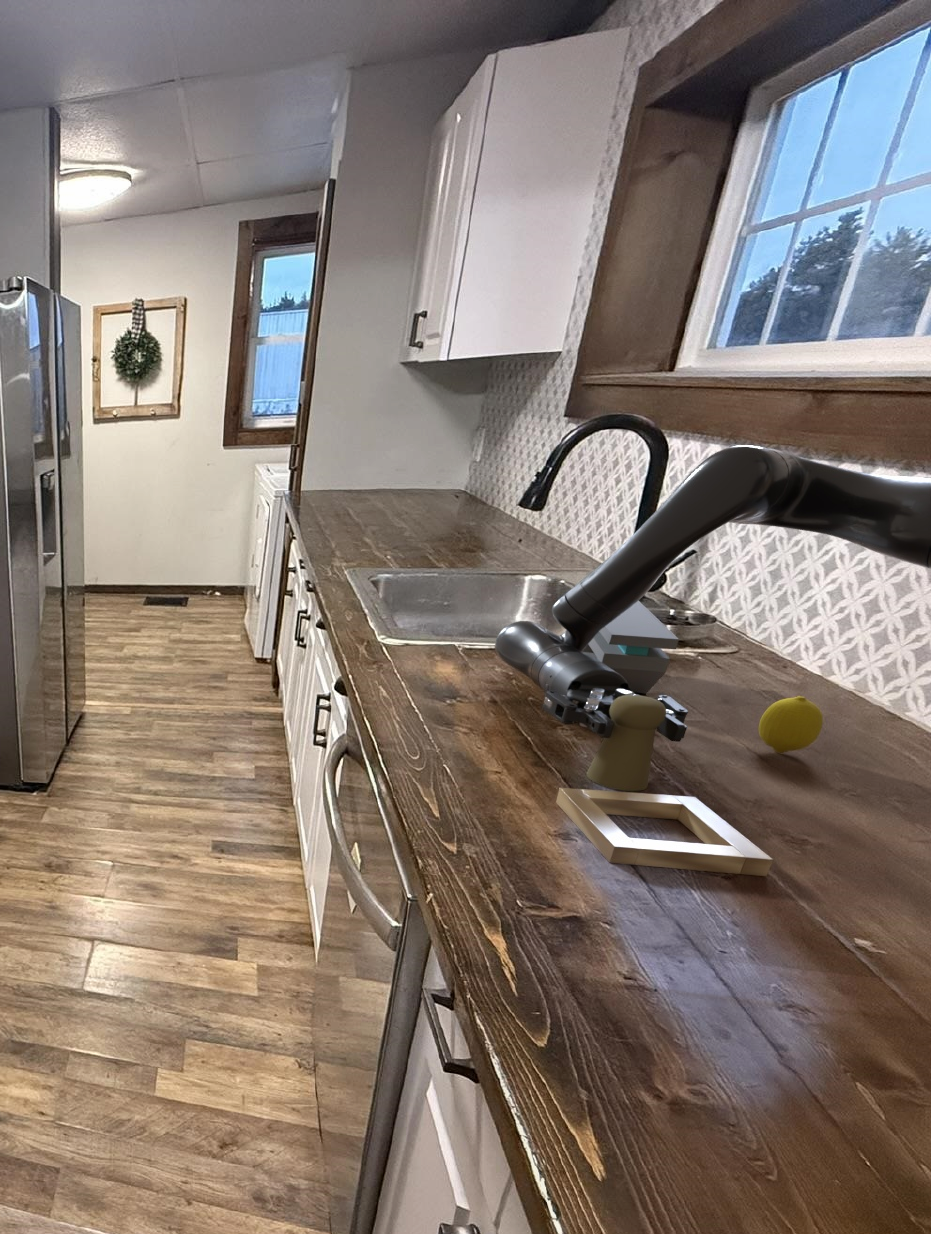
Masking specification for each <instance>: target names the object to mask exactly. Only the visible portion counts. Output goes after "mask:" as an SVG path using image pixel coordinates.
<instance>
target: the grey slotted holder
mask: <svg viewBox="0 0 931 1234" xmlns="http://www.w3.org/2000/svg"><path fill="white" fill-rule="evenodd" d="M679 641H680V638H679V637H678V636H676V635H675V634H674V633H673V632H672V631H671V630H670V629H669V628H668V627H667V626H666V625H665V624H664V623H663V622H662V621H660V619H659V618H657V616H655V614H653V612H651V611H650V610H649V609H648V608H647V607H646V606H645V605H644V604H643V603H642V602H641V601H640V600H638V601H637V602H636V603H635V604H634V605H633V606H631V607H630V608H629V609H628V610H626V611H625V612H624V613H622V614H621V615H620V616H618V617H617V618H616V619H614V620H613V621H612V622H610V623H609V624H608V625H607V626H605V627H604V628H602V629H601V630H600V631H599V632H598V633H597V634H596V635H595V637H594V638H593V639H592V640H591V641H590V642H589V644H588V645H587V646H586V647H585V648H584V650H583V651H582V652H583V653H584V654H586V655H589V656H591V657H594V658H596V659H597V660H599V661H600V662H602V663H603V664H605V665H607V666H608V667H610V668H611V669H613V670H614V671H616V672H617V673H619V674H620V675H622V676H623V677H624V678H625V680H626V681H627V683H628V685H629V687H630V690H631V692H633V693H634V694H645V695H646V694H647V693H648V692H649V691H650V690H652V688H653V687H654V686H655V685H656V684H657V683H658V682H659V681H660V680H661V679H662V678H663V676H664V675H666V674H667V670H668V666H669V664H670V661H671V658H670V657H669V655H667V653H666V652H665V651H664V650H663V649H665V650H677V647H678V645H679Z"/></svg>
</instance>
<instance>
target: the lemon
mask: <svg viewBox="0 0 931 1234" xmlns="http://www.w3.org/2000/svg"><path fill="white" fill-rule="evenodd" d="M823 720H824V718H823V713H822V710H821V709H820V707H818V705H817V704H815V703H814V702H813V701H810V700H808V699H807V698H806V697H805V696H801V695H797V696H795V697H787V698H783V699H780V700H779V699H778V700H777V701H775V702H773V703H772V704H771V705H769V707H767V708H766V710H765V711H764V712H763V714H762V716H761V718H760V720H759V723H758V724H759V725H758V735H759V737H760V739H761V740H762V741H763V743H765V744H766V745H767V746H769V747H771V748H772V749H773V750H774V752H775V753H777V754H785V753H786V752H787V753H788V752H792V751H799V750H801V749H804V748H807V747H809V746H810V745H812V744H813V743H814V742H815V741H816V740H817V738H818V737H819V736H820V733H821V731H822V728H823V722H824V721H823Z"/></svg>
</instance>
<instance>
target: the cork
mask: <svg viewBox="0 0 931 1234" xmlns="http://www.w3.org/2000/svg"><path fill="white" fill-rule="evenodd" d="M639 695H640V694H637V695H624V696H620V697H618V698H617V699H615V700H614V701H613V703H612V704H611V706H610V710H609V713H610V717H611V719H612V721H613V722H614V727H613V730H612V734H611V737H610V738H603V739H602V741H601V743H600V745H599V747H598V749H597V751H596V753H595V755H594V757H593V760H592V761H591V763H590V765H589V768H588V770H587V771H586V774H587V775H586V777H587V779H589V780H590V781H591V780H592V781H591V782H593V783H595V784H597V785H599V786H602V787H605V788H609V789H613V790H618V791H623V792H640V791H644V790H647V788H648V785H649V780H650V779H649V778H650V772H651V762H652V755H653V748H654V742H655V733H656V729H655V728H656V727H658V726H659V725H661V723H662V722H663V720H664V719H665V716H666V708H665V706H664V704H663V703H661V702H660V701H658V700H657V699H656V698H654V697H649V696H646V695H640V696H639Z"/></svg>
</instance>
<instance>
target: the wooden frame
mask: <svg viewBox="0 0 931 1234" xmlns="http://www.w3.org/2000/svg"><path fill="white" fill-rule="evenodd" d="M555 804H556V805H557V806H559V807H560V809H561V810H562V811H563V812H564V813H565V815H567V817H568V818H569V819H570V820H571V821H572V822H573V824H574V825H575V826H576V827H577V828H578V829H579V830H580V831H581V832H582V834H583V835H584V836H585V837H586V838H587V839H588V840H589V842H590V843H591V844H592V845H593V846H594V847H595V848H596V849H597V850H598V851H599V853H600V854H601V855H602V856H603V858H605V859H606V860H607V862H608V863H610V864H621V865H629V866H630V865H634V866H641V867H642V866H644V867H654V868H665V869H666V868H667V869H678V870H692V871H700V872H701V871H702V872H712V873H723V874H735V875H745V876H758V877H767V876H768V874H769V871H770V869H771V866H772V864H773V861H774V859H773V858H772V857H770V855H768V854H767V853H766V852H764V851H763V850H762V849H760V847H758V846H757V845H756V844H754V843H753V842H752V841H750V840H749V839H748V838H747V837H746V836H744V835H743V834H742V833H741V832H740V831H738V830H737V829H736V828H735V827H733V826H732V825H731V824H729V823H728V822H727V821H726V820H724V819H723V818H722V817H721V816H719V815H718V814H717V813H715V812H714V811H713V810H712V809H711V808H709V807H708V806H707V805H706V804H705V803H703V802H702V801H701V800H699V799H698V798H697V797H696V796H687V795H686V796H685V795H672V794H661V793H660V794H658V793H646V792H645V793H644V792H631V791H616V790H615V791H613V790H601V789H600V790H599V789H585V788H569V787H559V790H558V792H557V797H556V801H555ZM608 815H613V816H623V817H624V816H625V817H639V818H653V819H665V820H678V821H679V822H680V823H681V824H682V825H683V826H685V828H687V829H688V831H690V832H691V833H692V834H694V835H695V836H696V837H697V838H698V839H699V840H701V841H702V842H703V843H699V842H686V841H685V842H684V841H675V840H674V841H673V840H660V839H650V838H649V839H648V838H637V837H636V838H635V837H629V836H628V835H627V834H626V833H625V832H624V831H623V829H621V828H620V827H619V826H618V825H617V824H616V823H615V822H614V821H613V820H612V819H611V818H610V817H609V816H608Z"/></svg>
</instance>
